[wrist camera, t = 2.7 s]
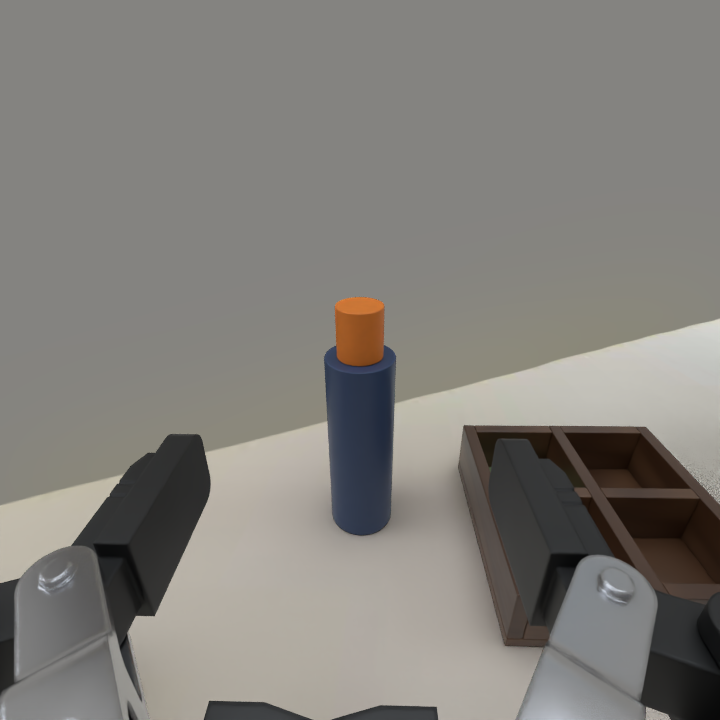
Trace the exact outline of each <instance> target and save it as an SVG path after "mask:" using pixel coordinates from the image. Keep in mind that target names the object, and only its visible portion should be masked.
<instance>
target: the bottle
mask: <svg viewBox="0 0 720 720" xmlns="http://www.w3.org/2000/svg"><path fill="white" fill-rule="evenodd" d="M335 322H336V346H334V347H332V348H331V349H329V350H328V351H327V352H326V354H325V357H324V364H325V382H326V401H327V420H328V439H329V457H330V476H331V495H332V513H333V518H334V520H335V522H336V524H337V525H338V526H339V527H340V528H341V529H343V530H344V531H346V532H348V533H351V534H355V535H368V534H372V533H375V532H377V531H379V530H381V529H382V528H383V527H384V526H385V525H386V524H387V523H388V521H389V519H390V515H391V491H392V461H393V431H394V402H395V401H394V400H395V371H396V355H395V353H394V352H393V350H391V349H390V348H389V347H387V346H385V345H384V304H383V303H382V302H381V301H379V300H377V299H373V298H367V297H355V298H347V299H343V300H341V301H339V302H337V303H336V305H335Z"/></svg>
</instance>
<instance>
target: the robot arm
mask: <svg viewBox="0 0 720 720" xmlns="http://www.w3.org/2000/svg"><path fill="white" fill-rule="evenodd" d="M574 489H575V488H574V487H573V485H572V483H571V482H570V480H569V478H568V476H567V475H566V473H565V472H564V471H563V470H562V469H561V468H559V467H558V466H557V465H556V464H555V463H554V462H552V461H551V460H550V459H539V458H538V456H537V454H536V453H535V451H534V449H533V447H532V445H531V443H530V441H529V440H527V439H498V440H497V441H496V444H495V449H494V455H493V461H492V466H491V472H490V478H489V486H488V491H489V501H490V505H491V509H492V512H493V515H494V518H495V521H496V524H497V527H498V530H499V533H500V536H501V539H502V542H503V545H504V548H505V551H506V555H507V558H508V561H509V564H510V567H511V570H512V573H513V576H514V579H515V582H516V585H517V588H518V591H519V594H520V597H521V600H522V604H523V607H524V610H525V613H526V616H527V619H528V622H529V625H530V626H547V628H548V631H549V634H550V637H549V639H548V641H547V642H546V644H545V647H544V649H543V651H542V654H541V656H540V659H539V661H538V664H537V667H536V669H535V672H534V674H533V677H532V679H531V682H530V684H529V687H528V689H527V692H526V695H525V697H524V700H523V702H522V705H521V707H520V710H519V712H518V715H517V718H516V720H645V718H646V706H647V707H649V708H652V709H655V710H657V711H660V712H663V713H665V714H668V715H669V717H670V719H671V720H720V592H717V593H715V594H713V595H712V596H711V597H710V599H709V600H708V602H707V604H706V605H704V604H700V603H697V602H694V601H690V600H687V599H683V598H680V597H677V596H673V595H670V594H666V593H663V592H660V591H658V590H655V589H653V588H652V586H651V584H650V583H649V582H648V580H647V579H646V578H645V577H644V576H643V575H642V574H641V573H640V572H638V571H637V570H636V569H635V568H633V567H632V566H630V565H629V564H627V563H625V562H623V561H621V560H619V559H616V558H615V557H614V555H613V553H612V552H611V550H610V548H609V546H608V545H607V543H606V541H605V540H604V538H603V536H602V534H601V533H600V531H599V529H598V528H597V526H596V524H595V522H594V521H593V519H592V517H591V516H590V514H589V512H588V511H587V509H586V507H585V505H583V504H582V500H581V499H580V497H579V495H578V493H577V492H575V490H574ZM209 493H210V474H209V470H208V465H207V460H206V456H205V451H204V447H203V442H202V439H201V437H200V435H197V434H170V435H168V436H167V437H166V438H165V440H164V441H163V443H162V444H161V446H160V447H159V449H158V450H157V451H156V453H147V454H146V455H145V456H144V457H142V458H141V459H139V460H138V461H137V462H135V463H134V464H133V465H132V466H130V468H129V469H128V470H127V472H126V473H125V474H124V476H123V477H122V478H121V480H120V483H119V484H117V485H116V486H115V488H114V489H113V490H112V492H111V493H110V497H107V498H106V500H105V501H104V503H103V504H102V505H101V507H100V508H99V509H98V511H97V512H96V513H95V515H94V516H93V517H92V519H91V520H90V521H89V523H88V524H87V525H86V527H85V528H84V529H83V531H82V532H81V533H80V535H79V536H78V537H77V539H76V540H75V541H74V543H73V544H72V545H71V546H70V547H65V548H62V549H59V550H56V551H54V552H52V553H50V554H48V555H46V556H44V557H43V558H41V559H40V560H38V561H37V562H35V563H34V564H33V565H32V566H31V567H30V568H29V569H28V570H27V571H26V572H25V573H24V574H23V575H22V577H21V578H19V579H16V580H12V581H8V582H4V583H0V720H150V717H149V713H148V709H147V705H146V701H145V697H144V692H143V688H142V684H141V679H140V675H139V671H138V667H137V662H136V658H135V654H134V650H133V645H132V641H131V637H130V634H129V632H128V630H129V628H130V626H131V624H132V622H133V620H134V618H135V616H155V614H156V612H157V610H158V607H159V605H160V603H161V601H162V599H163V597H164V594H165V592H166V590H167V588H168V586H169V583H170V581H171V579H172V577H173V575H174V573H175V570H176V568H177V566H178V564H179V562H180V559H181V557H182V555H183V553H184V551H185V549H186V546H187V544H188V542H189V540H190V538H191V535H192V533H193V531H194V529H195V527H196V524H197V522H198V520H199V518H200V516H201V514H202V511H203V509H204V507H205V505H206V503H207V500H208V497H209ZM204 720H312V719H309V718H306V717H303V716H301V715H298V714H295V713H292V712H290V711H287V710H284V709H281V708H279V707H276V706H273V705H270V704H268V703H265V702H230V701H209V704H208V707H207V711H206V714H205V717H204ZM332 720H438V714H437V707H421V706H383V705H380V706H377V707H373V708H370V709H366V710H363V711H359V712H356V713H353V714H349V715H346V716H342V717H339V718H335V719H332Z"/></svg>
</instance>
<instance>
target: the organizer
mask: <svg viewBox="0 0 720 720" xmlns="http://www.w3.org/2000/svg"><path fill="white" fill-rule="evenodd" d="M498 439H527V440H529V441H530V443H531V445H532V447H533V449H534V451H535V453H536V454H537V456H538V458H539V459H550V460H551V461H552V462H554V463H555V464H556V465H557V466H558V467H559V468H561V469H562V470H563V471H564V472H565V473H566V475H567V476H568V478H569V480H570V482H571V483H572V485H573V487H574V488H575V489H574V490H575V492H577V493H578V495H579V497H580V499H581V500H582V504H583V505H585V507H586V509H587V511H588V512H589V514H590V516H591V517H592V519H593V521H594V522H595V524H596V526H597V528H598V529H599V531H600V533H601V534H602V536H603V538H604V540H605V541H606V543H607V545H608V546H609V548H610V550H611V552H612V553H613V555H614V557H615V558H616V559H619V560H621V561H623V562H625V563H627V564H629V565H630V566H632V567H633V568H635V569H636V570H637V571H638V572H640V573H641V574H642V575H643V576H644V577H645V578H646V579H647V580H648V582H649V583H650V584H651V586H652V588H653V589H655V590H658V591H660V592H663V593H666V594H670V595H673V596H677V597H680V598H683V599H687V600H690V601H694V602H697V603H700V604H704V605H706V604H707V602H708V600H709V599H710V597H711V596H712V595H713V594H715V593H717V592H720V505H719V503H718V502H717V501H716V500H715V499H714V498H713V497H712V496H711V495H710V494H709V493H708V492H707V491H706V490H705V489H704V488H703V487H702V486H701V485H700V483H699V482H698V481H697V480H696V479H695V478H694V477H693V476H692V475H691V474H690V473H689V472H688V471H687V470H686V469H685V468H684V467H683V466H682V465H681V463H680V462H679V461H678V460H677V459H676V458H675V457H674V456H673V455H672V454H671V453H670V452H669V451H668V450H667V449H666V448H665V447H664V446H663V444H662V443H661V442H660V441H659V440H658V439H657V438H656V437H655V436H654V435H653V434H652V433H651V432H650V431H649V430H648V429H647V428H646V427H619V426H549V427H548V426H468V425H464V426H463V434H462V441H461V449H460V457H459V464H458V468H459V472H460V476H461V480H462V483H463V487H464V491H465V495H466V499H467V503H468V506H469V510H470V514H471V518H472V522H473V525H474V529H475V533H476V537H477V541H478V545H479V548H480V552H481V556H482V560H483V564H484V568H485V571H486V575H487V579H488V583H489V587H490V590H491V594H492V598H493V602H494V606H495V610H496V613H497V617H498V621H499V625H500V629H501V632H502V636H503V640H504V644H505V646H545V644H546V642H547V641H548V639H549V637H550V634H549V631H548V628H547V626H530V625H529V622H528V619H527V616H526V613H525V610H524V607H523V604H522V600H521V597H520V594H519V591H518V588H517V585H516V582H515V579H514V576H513V573H512V570H511V567H510V564H509V561H508V558H507V555H506V551H505V548H504V545H503V542H502V539H501V536H500V533H499V530H498V527H497V524H496V521H495V518H494V515H493V512H492V509H491V505H490V501H489V491H488V486H489V478H490V472H491V466H492V461H493V455H494V449H495V444H496V441H497V440H498Z"/></svg>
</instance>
